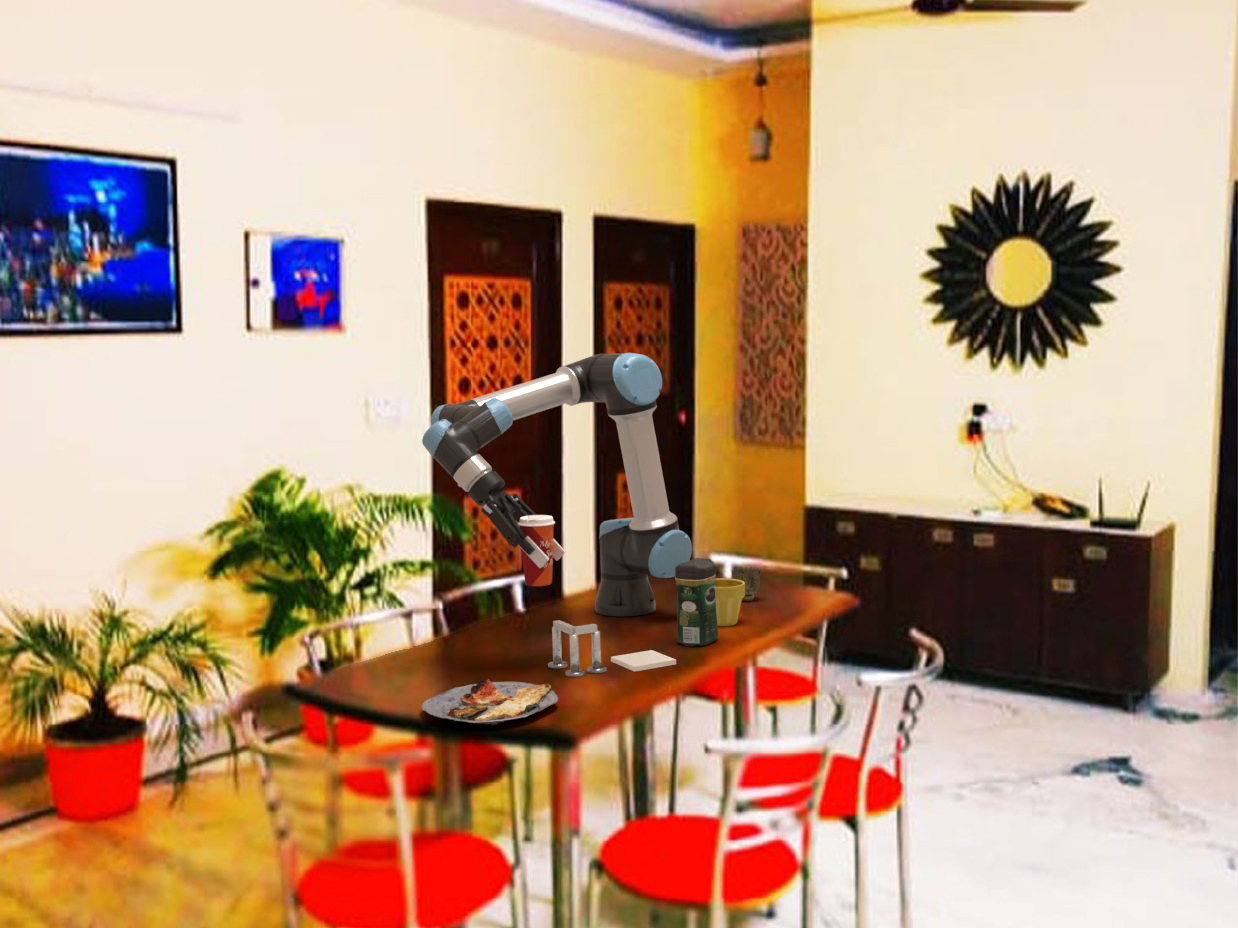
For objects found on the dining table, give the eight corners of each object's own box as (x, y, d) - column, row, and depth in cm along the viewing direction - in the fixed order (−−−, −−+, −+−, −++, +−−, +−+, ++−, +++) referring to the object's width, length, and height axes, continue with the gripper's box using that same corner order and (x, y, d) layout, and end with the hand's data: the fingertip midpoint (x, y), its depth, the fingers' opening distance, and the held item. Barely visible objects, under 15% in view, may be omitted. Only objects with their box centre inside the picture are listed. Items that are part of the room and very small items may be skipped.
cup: (741, 596, 336) (741, 565, 335) (766, 598, 332) (766, 568, 331) (726, 601, 330) (726, 570, 329) (752, 604, 326) (751, 572, 325)
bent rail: (544, 665, 272) (543, 620, 271) (583, 659, 276) (581, 614, 275) (570, 678, 261) (569, 630, 260) (610, 671, 266) (608, 624, 265)
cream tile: (610, 661, 274) (610, 656, 274) (651, 654, 278) (651, 649, 278) (634, 671, 265) (634, 666, 265) (676, 664, 270) (676, 659, 270)
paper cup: (551, 587, 266) (549, 519, 265) (515, 586, 268) (513, 519, 266) (561, 580, 274) (559, 514, 272) (526, 579, 276) (524, 514, 274)
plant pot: (753, 625, 303) (752, 583, 302) (712, 629, 300) (711, 588, 299) (734, 616, 313) (733, 576, 312) (694, 620, 309) (693, 580, 308)
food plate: (481, 685, 258) (480, 667, 257) (580, 700, 246) (580, 682, 246) (399, 722, 236) (398, 704, 236) (504, 741, 225) (503, 721, 224)
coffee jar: (691, 635, 295) (689, 554, 293) (722, 638, 291) (721, 557, 289) (670, 644, 287) (668, 561, 285) (702, 648, 283) (700, 564, 281)
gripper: (491, 487, 284) (561, 563, 280) (446, 500, 265) (520, 581, 261) (512, 463, 282) (583, 539, 277) (468, 474, 262) (543, 556, 258)
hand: (552, 559), depth 269 cm, fingers closed on paper cup, 8 cm apart
